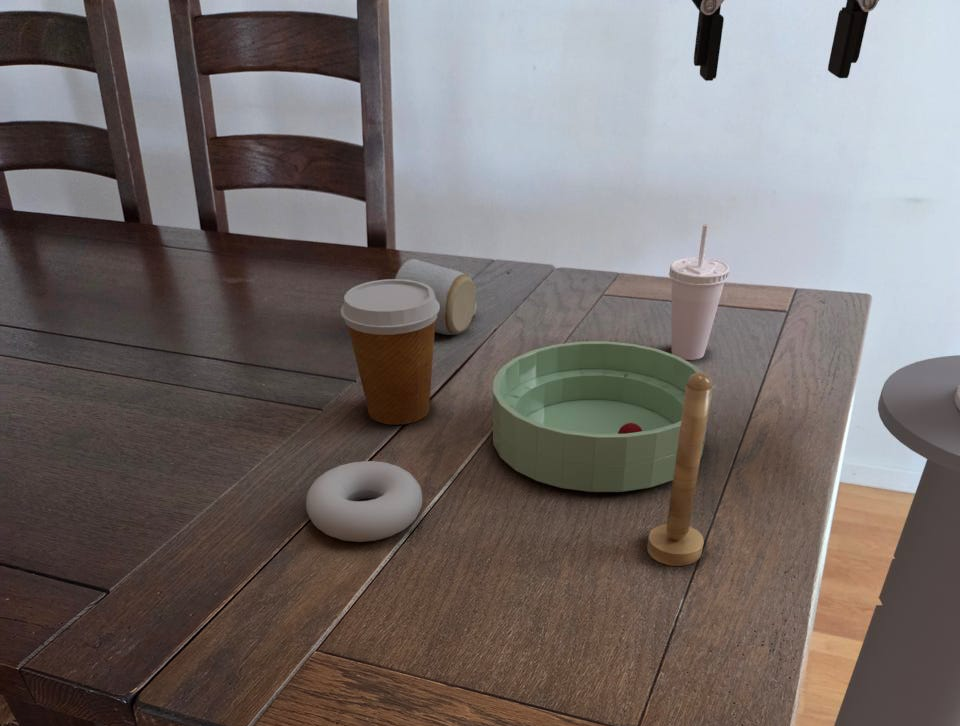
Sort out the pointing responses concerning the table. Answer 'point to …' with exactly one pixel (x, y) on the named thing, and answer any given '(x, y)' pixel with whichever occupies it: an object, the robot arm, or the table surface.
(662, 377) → the bowl
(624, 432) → the cherry
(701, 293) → the smoothie
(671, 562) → the stirrer
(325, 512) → the donut
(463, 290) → the ceramic mug
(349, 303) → the disposable coffee cup
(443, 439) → the table surface
